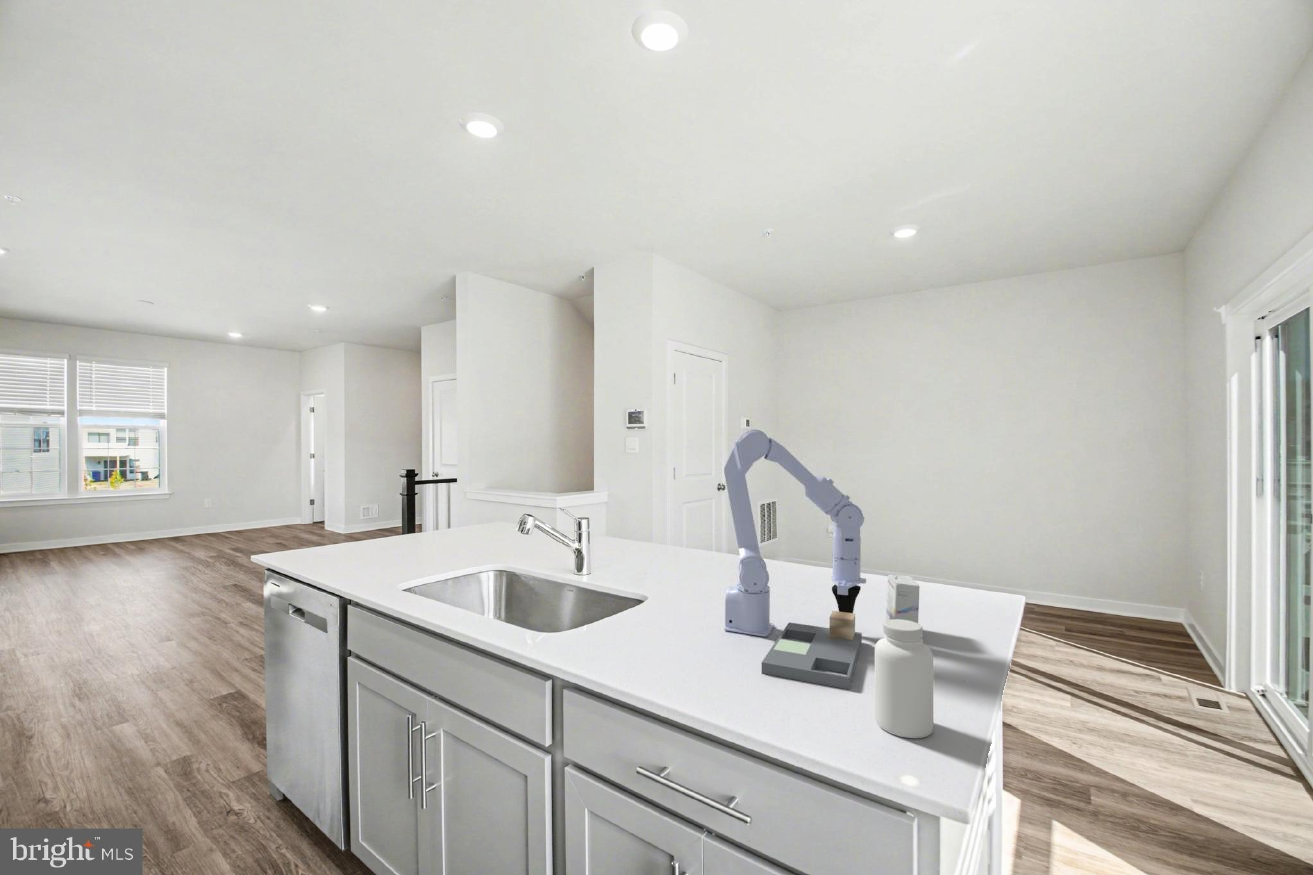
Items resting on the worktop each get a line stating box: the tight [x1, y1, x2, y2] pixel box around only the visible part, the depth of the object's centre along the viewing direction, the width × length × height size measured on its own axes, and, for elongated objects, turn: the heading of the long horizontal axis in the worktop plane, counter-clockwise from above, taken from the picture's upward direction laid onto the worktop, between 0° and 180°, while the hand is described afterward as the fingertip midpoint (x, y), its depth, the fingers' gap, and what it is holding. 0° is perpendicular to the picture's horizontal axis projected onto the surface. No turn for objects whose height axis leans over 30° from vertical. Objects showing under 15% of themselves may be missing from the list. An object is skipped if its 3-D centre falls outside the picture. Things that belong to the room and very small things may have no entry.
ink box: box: [885, 573, 920, 624], centre depth 122 cm, size 9×5×12 cm, turn 168°
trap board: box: [761, 622, 863, 690], centre depth 109 cm, size 15×24×2 cm, turn 155°
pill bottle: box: [874, 619, 934, 739], centre depth 83 cm, size 8×8×15 cm
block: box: [829, 610, 856, 640], centre depth 115 cm, size 4×4×4 cm
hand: (846, 619), depth 121 cm, fingers closed
